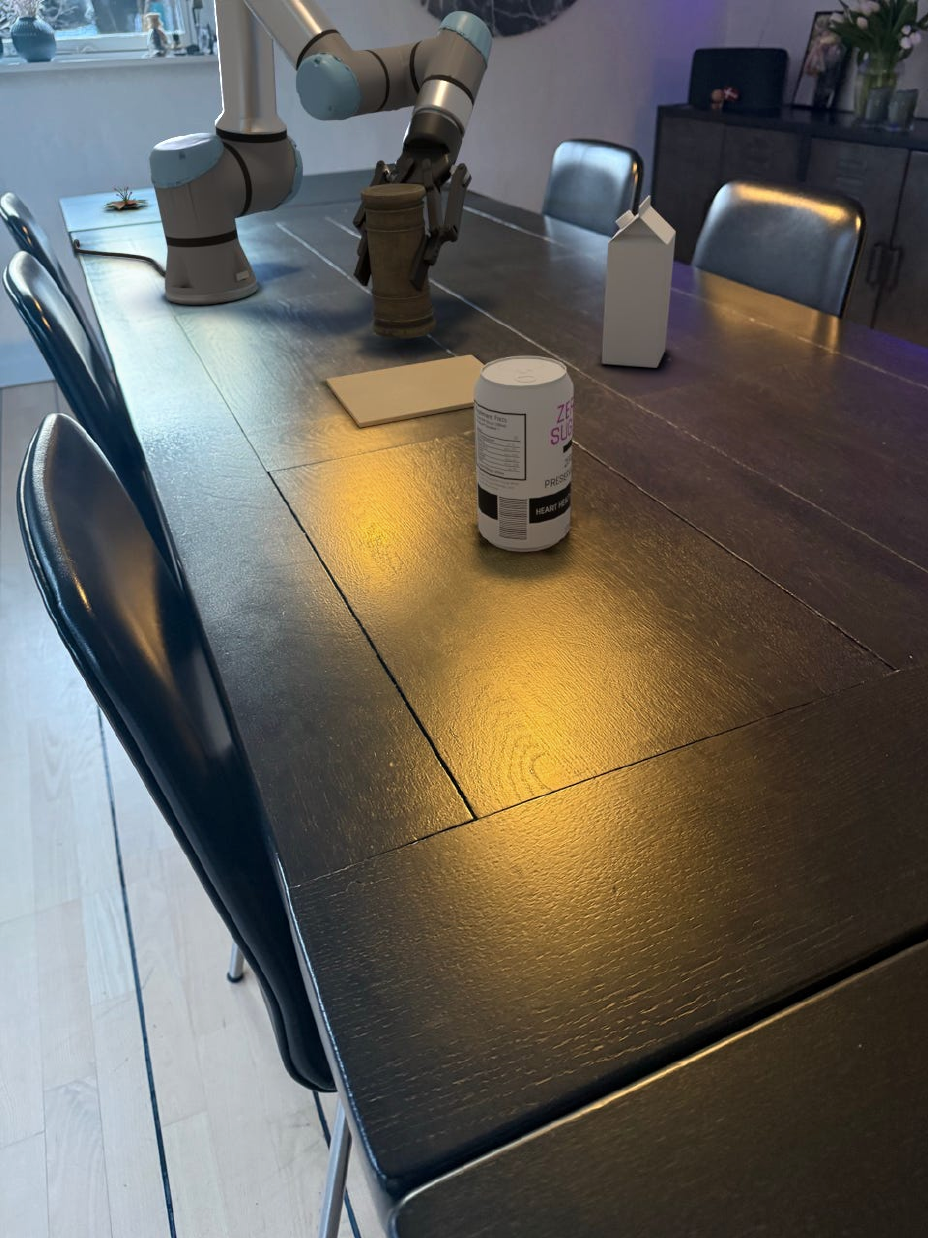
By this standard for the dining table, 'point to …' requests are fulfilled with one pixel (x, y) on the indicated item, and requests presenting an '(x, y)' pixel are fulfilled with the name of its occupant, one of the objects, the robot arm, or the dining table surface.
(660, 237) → the milk carton
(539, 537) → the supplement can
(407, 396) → the mat
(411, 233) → the container
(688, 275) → the dining table surface
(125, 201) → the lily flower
